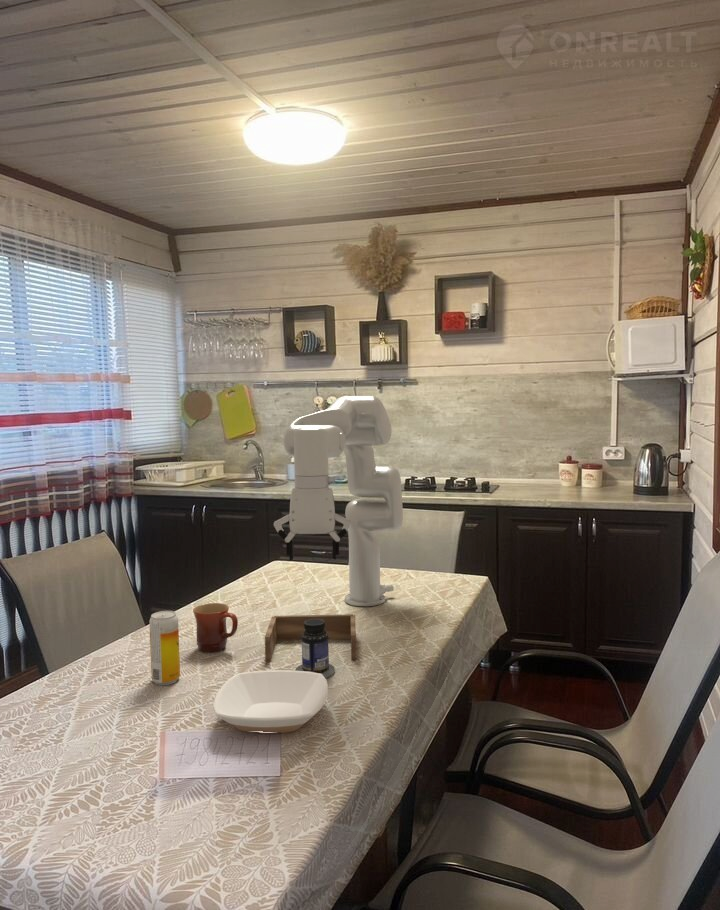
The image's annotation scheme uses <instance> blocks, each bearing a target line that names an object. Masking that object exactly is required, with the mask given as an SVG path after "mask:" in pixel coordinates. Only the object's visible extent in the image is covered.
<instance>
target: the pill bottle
mask: <svg viewBox="0 0 720 910" xmlns="http://www.w3.org/2000/svg"><path fill="white" fill-rule="evenodd" d="M304 628H305V631H304V632H303V633H302V636H301V639H300V640H301V665H302V669H303V670H304V671H308V672H314V673H322V672H325V671H327V670H328V668H329V664H330V660H329V659H330V658H329V657H330V656H329V655H330V653H329V639H328V633H327V632H326V631H325V630H324V628H325V621H324V620H322V619H309V620H306V621H305V622H304Z"/></svg>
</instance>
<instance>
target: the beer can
mask: <svg viewBox="0 0 720 910" xmlns="http://www.w3.org/2000/svg"><path fill="white" fill-rule="evenodd" d="M179 632H180V631H179V616H178V615H177V613H176V611H173V610H160V611H156V612H154V613H152V614H151V615H150V619H149V642H150V644H149V645H150V647H149V648H150V669H151V671H150V673H151V675H150V676H151V681H152V682H154V684H155V685H159V686H167V685H172V684H174V683H176V682H177V681H178V679H179V678H180V676H181V664H180V663H181V662H180V658H181V657H180V638H179V637H180V636H179V635H180V634H179Z"/></svg>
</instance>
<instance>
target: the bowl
mask: <svg viewBox="0 0 720 910" xmlns="http://www.w3.org/2000/svg"><path fill="white" fill-rule="evenodd" d="M328 695H329V685H328V681H327V678H326V679H325V677H324V676H323V675H322V674H320V673H314V672H308V671H295V670H287V669H286V670H285V669H276V670H274V669H273V670H270V669H269V670H257V671H256V670H254V671H246V672H239V673H236V674H235V675H233V676H231V677H230V678H228V679H227V680H226V681H225V682H224V683H223V685H221V686H220V688H219V689H218V691H217V692H216V696H215V698H214V700H213V706H212V707H213V708H212V710H213V712H214V715H215V717H216V716H217V717H218V718H220V719H221V720H223V721H224V722H226V723H228V724H230V725H231V726H232V727H234V728H236V729H238V730H239V731H242V732H245V731H263V732H281V733H280V734H282V733H284V734H285V733H292V732H295V731H298V730H299V729H300V728H301V727H303V725H305V723H307V722H308V721H310V720H311V719H312V718H313V717H314V716H315V715H316V714H317V713H318V712H319V711H321V709H323V707H324V705H325V703H326V700H327V698H328Z"/></svg>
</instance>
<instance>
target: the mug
mask: <svg viewBox="0 0 720 910" xmlns="http://www.w3.org/2000/svg"><path fill="white" fill-rule="evenodd" d="M229 606H230V605H228V604H226V603H220V602H210V603H204V604H200V605H197V606H195V607H194V608H193V611H192V612H193V615H194V617H195V622H196V645H197V648H198V649H199V651H202V652H204V653H217V652H220V651H222V650H223V649H224V648H226V646H227V643H228V639H229V638H231V637H233V636H234V635H235V634H236V632H237V629H238V627H239V625H238V624H239V620H238V616H237V615H236V614H234V613H232V612H229V609H230V607H229ZM228 618H230V619H231V620H232V621H231V622H232V627H231V631H230V632H228V628H227V619H228Z"/></svg>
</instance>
